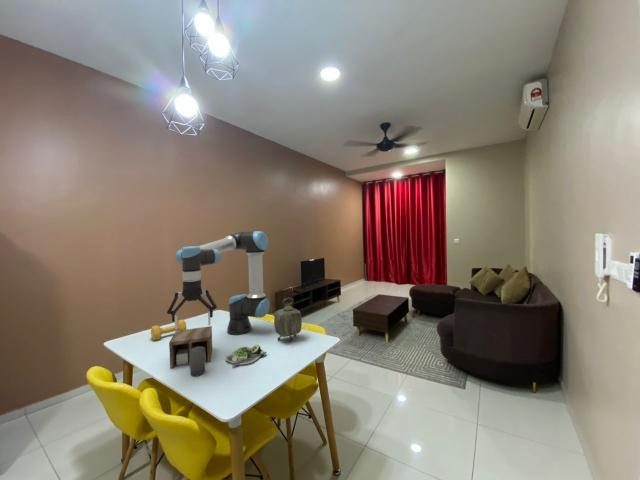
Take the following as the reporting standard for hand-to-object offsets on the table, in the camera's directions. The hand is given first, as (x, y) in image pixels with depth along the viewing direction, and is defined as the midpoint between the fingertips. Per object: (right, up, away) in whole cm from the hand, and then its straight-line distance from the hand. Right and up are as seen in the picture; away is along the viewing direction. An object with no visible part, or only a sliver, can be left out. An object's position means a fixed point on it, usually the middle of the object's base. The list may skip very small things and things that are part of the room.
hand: (193, 326), depth 118 cm
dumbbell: (-37, -21, +45) cm, 62 cm away
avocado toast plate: (+20, -21, +15) cm, 33 cm away
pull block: (0, -21, +6) cm, 22 cm away
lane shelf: (-7, -21, +15) cm, 27 cm away
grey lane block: (-11, -21, +11) cm, 26 cm away
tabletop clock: (+40, -20, +34) cm, 56 cm away
